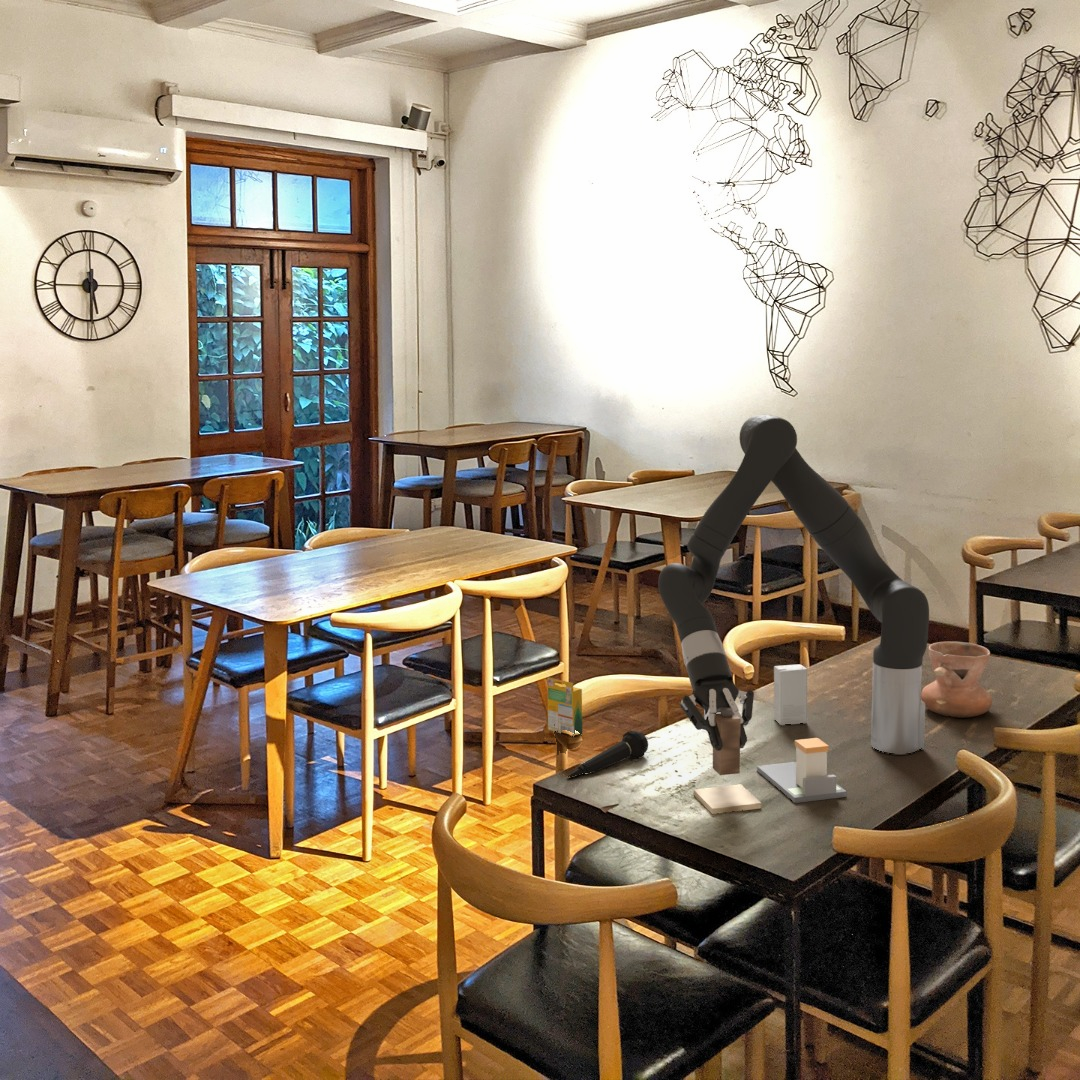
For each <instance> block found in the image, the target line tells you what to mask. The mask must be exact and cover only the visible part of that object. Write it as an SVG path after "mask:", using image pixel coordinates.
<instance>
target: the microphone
mask: <svg viewBox="0 0 1080 1080" xmlns="http://www.w3.org/2000/svg"><path fill="white" fill-rule="evenodd" d="M648 749H649V741H648V738H647V737H646V735H644V733H643V732H641V731H638V730H631V729H630V730H629V731H627V732H625V733H624V734H623V735H622V738H621V741H619V742H617V743H616V744H614V745H613V746H611V747H609V748H607V749H606V750H604V751H602V752H600V753H598V754H597V755H595V756H593V757H591V758H589V759H588V760H586V761H584V762H585V763H584V762H583V763H581V764H580V765H579V766H577V768H576V769H575V770H573V771H572V772H571V773H569V774H568V775H567V776H568V777H569V776H570V777H572V776H575V775H579V774H582V773H583V774H585V773H590V772H592V773H594V772H593V771H595V772H597V771H600V770H602V769H604V768H605V769H606V768H607V767H609V766H611V765H614V764H617V763H618V762H621V761H624V760H626V759H628V758H634V759H636V760H638V759H640V758H643V757H644V756H645V753H646V752H647V751H648ZM599 769H600V770H599ZM590 774H591V773H590ZM585 775H586V774H585Z"/></svg>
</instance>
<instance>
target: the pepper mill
mask: <svg viewBox="0 0 1080 1080" xmlns="http://www.w3.org/2000/svg"><path fill="white" fill-rule="evenodd" d="M715 719H716V727H718V730H719V734H720V737H721V739H722V743H723V747H722V749H721V750H719V751H716V749H715V748H713V747H712V769H713V770H714V771H715V772H716V773H717V774H718V775H719V776H727V775H737V774H740V772H741V771H740V767H741V765H740V764H741V748H740V722H741V718H739V717H738V716H737V715H736V714H734V713H733V709H731V708H722V709H721V713H716V715H715Z"/></svg>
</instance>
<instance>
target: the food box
mask: <svg viewBox="0 0 1080 1080" xmlns="http://www.w3.org/2000/svg"><path fill="white" fill-rule="evenodd" d="M546 681H547V682H546V683H547V686H546V687H547V691H546V692H547V730H548V731H550V732H554V733H558V734H561V731H562V730H567V731H570V732H572V733H574V734H575V730H576V731H578V732H579V733H580V735H582V734H583V689H582V688H579V687H575V686H574V682H570V681H566V680H561V679H558V678H553V677H548V676H547V677H546ZM554 724H555V726H554ZM554 727H555V729H554ZM557 730H558V732H557ZM555 731H556V732H555ZM574 734H573V737H572V738H575V737H574Z"/></svg>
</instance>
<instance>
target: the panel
mask: <svg viewBox="0 0 1080 1080" xmlns="http://www.w3.org/2000/svg"><path fill="white" fill-rule="evenodd" d="M756 772H758V774H760V775H761V776H762V777H764V779H766V780H767V781H768V782H769V781H770V782H769V783H770V784H772V785H773V786H774V787H775V786H776V787H777V788H778V789H777V788H776V787H775V788H776V789H777V790H778V791H780V790H781V791H782V792H783V793H784V794H785V795H784V794H783V793H782V792H781V791H780V792H781V793H782V794H783V795H784V796H786V795H787V796H786V797H787V798H788V799H789V798H790V799H791V800H792V801H791V800H790V799H789V800H790V801H791V802H792V803H793V804H798V803H805V802H815V801H821V800H822V801H823V800H830V799H838V798H839V799H840V798H846V797H847V793H848V792H847V790H845V789H844V788H843V787H842V786H840V785H839V784H838V783H837V779H838V778H837V775H835V774H828V775H825V776H817V777H808V778H803V788H802V787H800V786H799V785H798V784H797V783H796V761H791V762H790V761H789V762H782V763H781V762H780V763H772V764H761V765H757V766H756Z"/></svg>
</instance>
